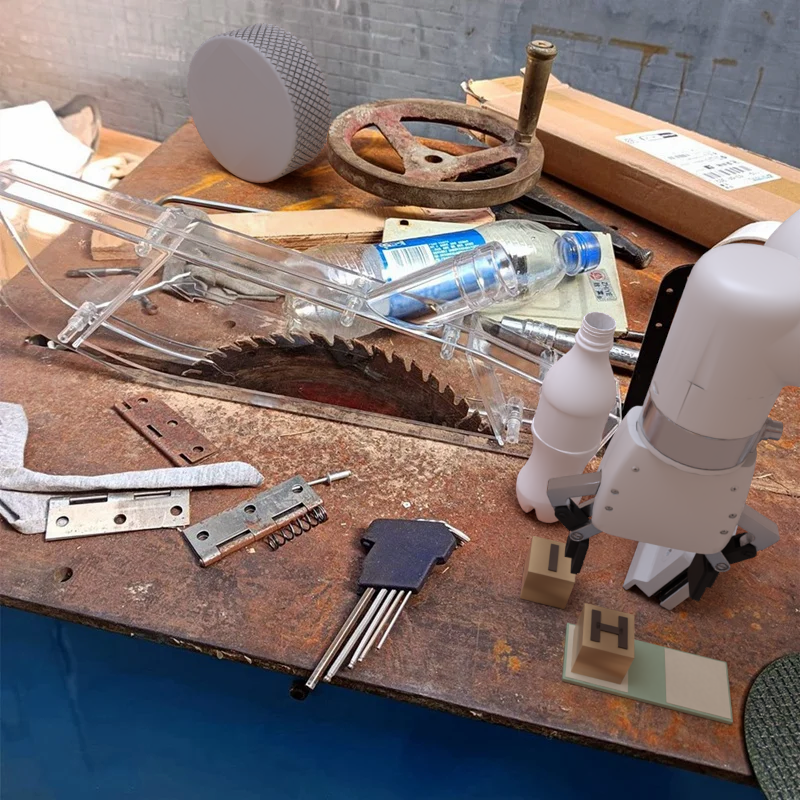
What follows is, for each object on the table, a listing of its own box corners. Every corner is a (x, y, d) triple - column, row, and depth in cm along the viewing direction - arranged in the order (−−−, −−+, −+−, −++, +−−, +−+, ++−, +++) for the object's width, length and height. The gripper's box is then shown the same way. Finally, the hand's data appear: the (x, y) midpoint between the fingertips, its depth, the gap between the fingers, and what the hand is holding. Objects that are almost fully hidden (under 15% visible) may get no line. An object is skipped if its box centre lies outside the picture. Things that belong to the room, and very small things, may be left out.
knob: (330, 183, 142) (333, 41, 126) (296, 201, 135) (294, 54, 119) (229, 145, 151) (219, 9, 135) (192, 161, 144) (178, 19, 128)
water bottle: (570, 483, 88) (631, 302, 71) (580, 531, 82) (648, 347, 66) (509, 478, 87) (555, 295, 71) (515, 527, 82) (566, 341, 66)
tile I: (567, 573, 78) (578, 544, 75) (564, 609, 74) (575, 581, 71) (524, 563, 78) (533, 533, 75) (519, 598, 75) (528, 569, 72)
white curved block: (659, 485, 88) (716, 438, 81) (692, 510, 88) (753, 464, 81) (621, 589, 77) (685, 544, 69) (660, 618, 76) (728, 576, 69)
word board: (725, 664, 71) (727, 661, 71) (731, 724, 67) (733, 721, 66) (566, 625, 73) (567, 621, 73) (561, 681, 69) (563, 677, 68)
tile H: (621, 641, 71) (635, 613, 68) (620, 684, 68) (635, 656, 65) (573, 630, 72) (585, 601, 69) (570, 672, 69) (582, 643, 66)
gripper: (819, 410, 53) (735, 560, 65) (573, 366, 56) (533, 518, 67) (842, 486, 48) (746, 636, 59) (568, 433, 50) (525, 587, 61)
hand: (633, 573), depth 63 cm, fingers open, 9 cm apart
